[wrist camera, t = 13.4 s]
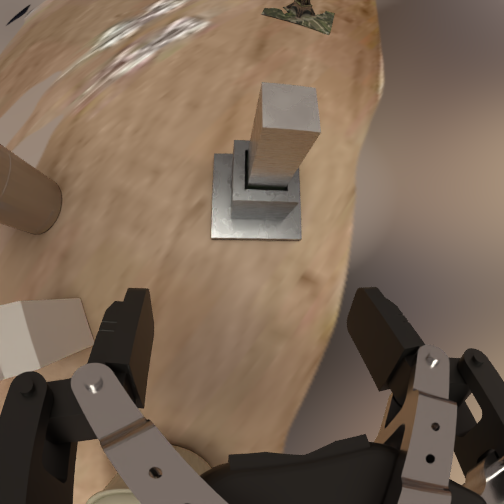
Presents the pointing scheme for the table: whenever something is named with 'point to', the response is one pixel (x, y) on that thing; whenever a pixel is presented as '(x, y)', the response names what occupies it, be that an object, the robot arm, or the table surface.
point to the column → (281, 135)
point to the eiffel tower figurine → (303, 16)
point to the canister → (121, 497)
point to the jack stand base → (251, 203)
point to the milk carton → (40, 334)
